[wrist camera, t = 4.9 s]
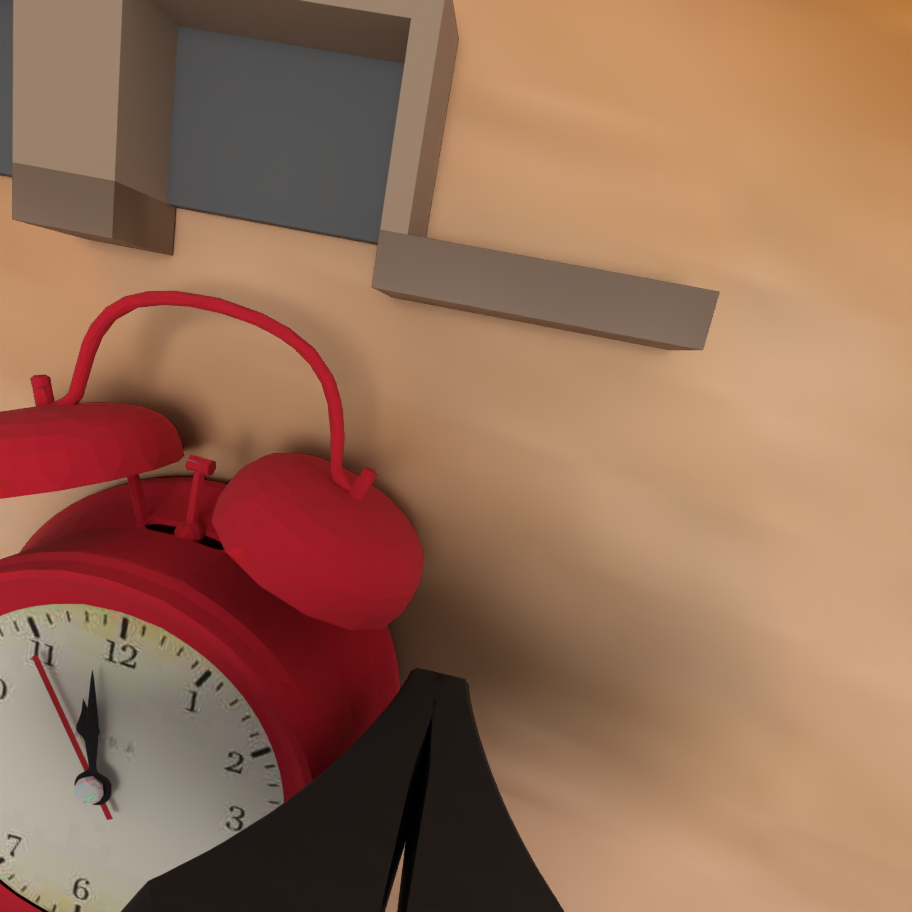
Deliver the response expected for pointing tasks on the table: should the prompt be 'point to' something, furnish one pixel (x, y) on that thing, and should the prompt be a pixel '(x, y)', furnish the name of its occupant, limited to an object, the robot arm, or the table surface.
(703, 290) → the wall
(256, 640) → the alarm clock
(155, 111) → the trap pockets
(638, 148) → the table surface
